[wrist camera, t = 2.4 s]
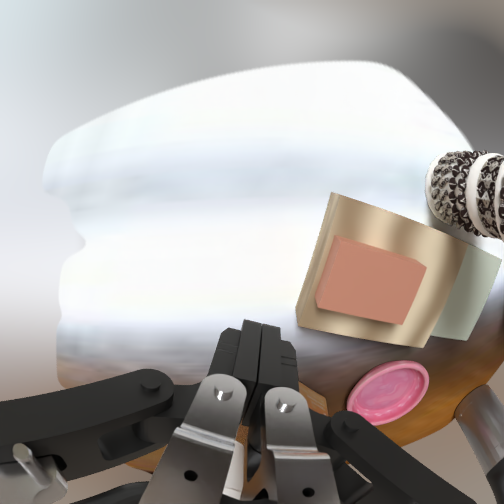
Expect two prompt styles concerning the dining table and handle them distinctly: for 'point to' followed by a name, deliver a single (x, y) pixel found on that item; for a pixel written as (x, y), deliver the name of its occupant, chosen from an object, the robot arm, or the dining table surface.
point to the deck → (394, 240)
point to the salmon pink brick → (368, 281)
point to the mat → (467, 294)
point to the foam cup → (235, 473)
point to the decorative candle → (468, 191)
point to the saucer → (389, 391)
